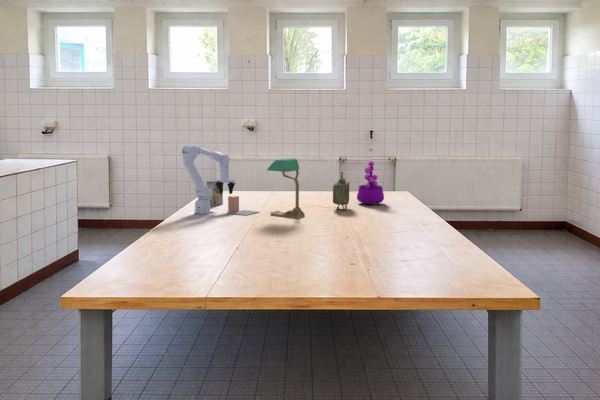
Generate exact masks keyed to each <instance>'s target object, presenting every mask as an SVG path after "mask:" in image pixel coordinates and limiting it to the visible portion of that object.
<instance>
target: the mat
mask: <svg viewBox="0 0 600 400" xmlns="http://www.w3.org/2000/svg"><path fill="white" fill-rule="evenodd" d="M259 213H260V211H257V210H246V209H243V210H239V211H238V212H234V213H230V214H231V215H237V216H245V217H246V216H250V215H255V214H259Z"/></svg>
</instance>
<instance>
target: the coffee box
mask: <svg viewBox="0 0 600 400" xmlns="http://www.w3.org/2000/svg"><path fill="white" fill-rule="evenodd" d="M216 183H217V182H216V180H209V181H206V185H207V186H208V188H209V189H210V190H211V191H212V196H211V198H210V206H215V207H216V206H219V205H223V204H224V198H223V197H224V195H223V193H224V192H223V193H220V191H219V188H218V186H217V185H216Z"/></svg>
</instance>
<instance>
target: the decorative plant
mask: <svg viewBox="0 0 600 400" xmlns="http://www.w3.org/2000/svg"><path fill="white" fill-rule="evenodd" d="M374 165H375V162H374V161H373V160H370V161H368V166H367V167H365V168H364V173H365V175H364V176H363V177H364V179H365V180H366V181H367V182H366V183H365V184H361V185H359V186H358V191H357V194H356V200H357V201H358V202H360V203H361V204H364V205H377V204H379V203H382V202H383V201H384V200H385V194H384V190H383V186H382V185H378V181H377V180H378V175H377V174H373V171H374V169H375V167H374Z"/></svg>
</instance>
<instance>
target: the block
mask: <svg viewBox="0 0 600 400" xmlns="http://www.w3.org/2000/svg"><path fill="white" fill-rule="evenodd" d="M227 202H228V204H227V207H228V208H227V211H228V213H230V214H231V213H234V212H238V211H240V205H239V204H240V196H239V195H231V196H227Z"/></svg>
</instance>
